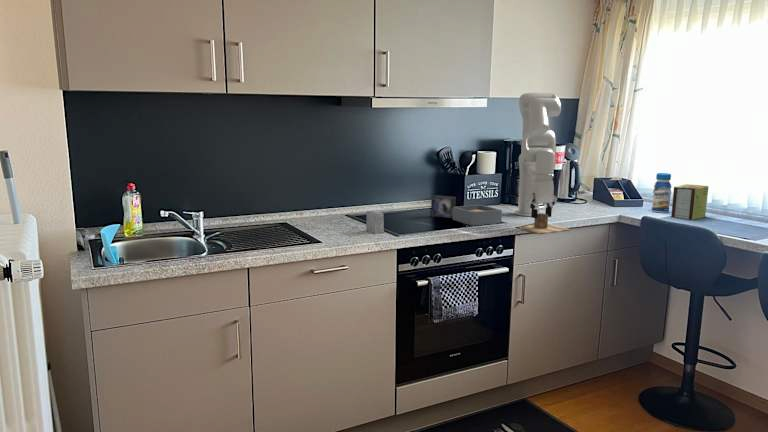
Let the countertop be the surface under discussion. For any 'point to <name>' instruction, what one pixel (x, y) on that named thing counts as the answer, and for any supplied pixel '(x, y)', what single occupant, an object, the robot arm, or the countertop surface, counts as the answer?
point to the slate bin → (477, 215)
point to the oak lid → (542, 226)
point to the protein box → (689, 201)
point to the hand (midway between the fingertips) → (541, 216)
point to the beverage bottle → (662, 193)
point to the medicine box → (375, 222)
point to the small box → (442, 206)
